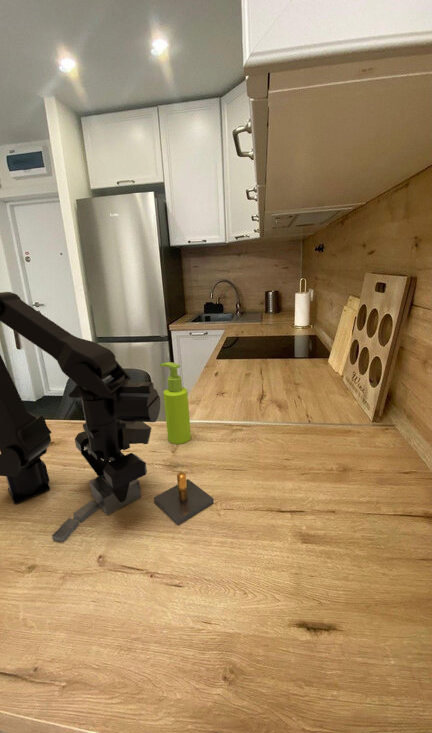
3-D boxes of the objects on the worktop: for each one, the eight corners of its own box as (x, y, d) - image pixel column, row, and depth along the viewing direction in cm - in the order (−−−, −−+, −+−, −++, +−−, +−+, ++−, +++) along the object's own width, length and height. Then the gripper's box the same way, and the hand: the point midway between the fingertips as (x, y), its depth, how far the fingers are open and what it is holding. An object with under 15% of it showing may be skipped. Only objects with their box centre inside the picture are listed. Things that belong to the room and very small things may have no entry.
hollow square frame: (106, 515, 59) (103, 498, 58) (91, 496, 64) (89, 480, 63) (141, 496, 64) (139, 481, 62) (124, 480, 69) (122, 465, 68)
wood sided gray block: (63, 544, 54) (62, 537, 53) (53, 542, 54) (52, 535, 54) (79, 526, 57) (78, 519, 57) (70, 524, 58) (68, 517, 58)
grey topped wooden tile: (81, 523, 58) (80, 517, 58) (74, 519, 59) (72, 513, 59) (99, 509, 61) (98, 503, 61) (92, 506, 62) (91, 499, 62)
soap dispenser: (176, 429, 89) (170, 358, 83) (195, 436, 85) (190, 363, 79) (160, 438, 85) (152, 364, 79) (179, 446, 81) (172, 369, 75)
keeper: (178, 525, 56) (175, 496, 54) (154, 501, 62) (151, 474, 60) (213, 502, 61) (212, 475, 59) (188, 483, 67) (186, 457, 65)
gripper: (168, 420, 57) (176, 495, 61) (121, 392, 70) (130, 455, 75) (107, 444, 50) (120, 526, 55) (67, 408, 64) (81, 477, 68)
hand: (114, 491), depth 63 cm, fingers closed on hollow square frame, 7 cm apart
